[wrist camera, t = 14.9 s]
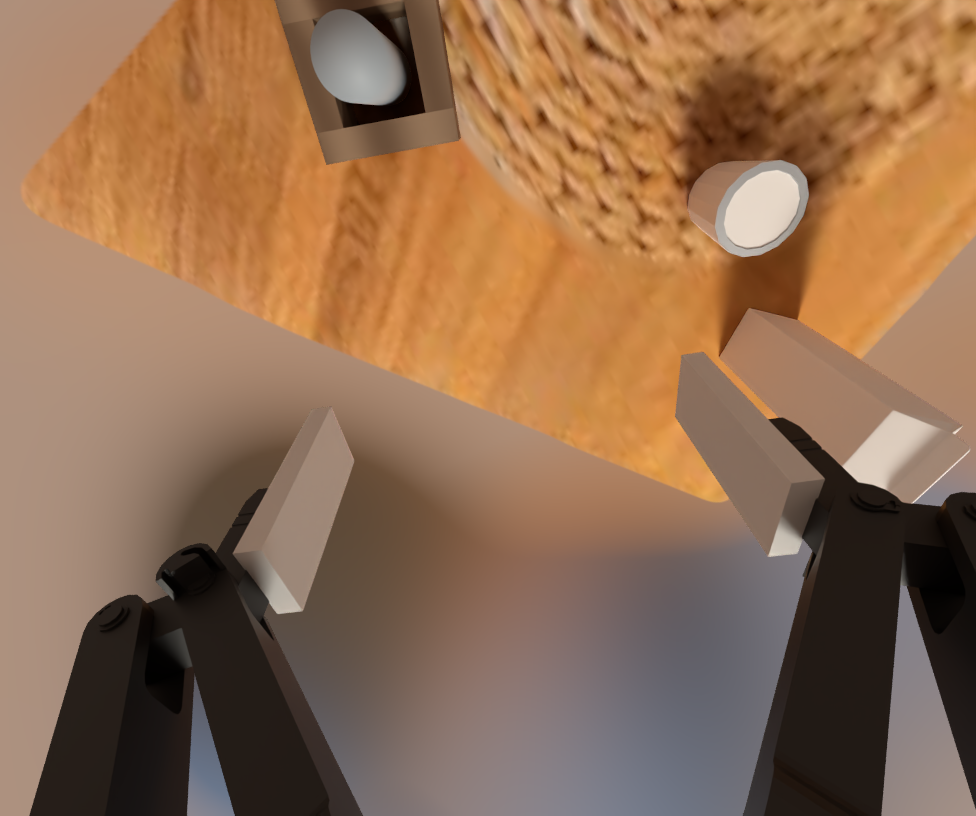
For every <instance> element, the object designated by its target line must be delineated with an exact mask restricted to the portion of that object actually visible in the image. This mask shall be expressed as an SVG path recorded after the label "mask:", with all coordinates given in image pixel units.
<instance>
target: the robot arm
mask: <svg viewBox="0 0 976 816" xmlns="http://www.w3.org/2000/svg"><path fill="white" fill-rule="evenodd" d="M675 417H676V419H677V420H678V422H679V423H680V425H681V426H682V428H683V429H684V431H685V432H686V434H687V435H688V437H689V438H690V440H691V441H692V443H693V444H694V446H695V447H696V449H697V450H698V452H699V453H700V455H701V456H702V458H703V459H704V461H705V462H706V464H707V465H708V467H709V468H710V470H711V471H712V473H713V474H714V476H715V477H716V479H717V480H718V482H719V483H720V485H721V486H722V488H723V489H724V491H725V492H726V494H727V495H728V497H729V499H730V500H731V501H732V503H733V505H734V506H735V508H736V509H737V511H738V512H739V513H740V515H741V517H742V518H743V520H744V521H745V523H746V524H747V526H748V527H749V529H750V530H751V532H752V533H753V535H754V536H755V538H756V539H757V541H758V542H759V544H760V545H761V547H762V548H763V550H764V551H765V553H766V554H767V556H768V557H770V556H779V555H787V554H797V553H798V550H799V548H800V545H801V542H802V539H804V541H805V542H806V543H807V544H808V546H809V547H810V548H811V549H812V553H811V556H810V559H809V561H808V563H807V566H806V568H805V571H804V573H803V576H804V577H805V578H804V582H803V586H802V590H801V593H800V597H799V601H798V605H797V609H796V613H795V617H794V621H793V625H792V628H791V632H790V636H789V640H788V644H787V648H786V652H785V656H784V659H783V663H782V667H781V671H780V675H779V679H778V683H777V687H776V690H775V694H774V698H773V702H772V706H771V710H770V714H769V718H768V722H767V726H766V729H765V733H764V737H763V741H762V745H761V749H760V753H759V757H758V761H757V764H756V768H755V772H754V776H753V780H752V784H751V787H750V791H749V796H748V799H747V803H746V807H745V810H744V813H743V816H881V812H882V800H883V788H884V775H885V764H886V750H887V739H888V728H889V714H890V703H891V691H892V679H893V667H894V654H895V643H896V631H897V619H898V618H897V617H898V607H899V595H900V585H904V586H907V589H908V592H909V595H910V598H911V601H912V605H913V608H914V611H915V614H916V618H917V621H918V624H919V627H920V630H921V634H922V637H923V640H924V643H925V646H926V650H927V653H928V656H929V660H930V663H931V666H932V669H933V673H934V676H935V679H936V682H937V686H938V689H939V692H940V695H941V698H942V702H943V705H944V708H945V711H946V714H947V718H948V721H949V724H950V727H951V731H952V734H953V737H954V741H955V743H956V747H957V750H958V753H959V757H960V760H961V763H962V766H963V770H964V773H965V776H966V779H967V782H968V786H969V789H970V792H971V795H972V799H973V802H974V805H975V808H976V493H967V492H960V493H955V494H951V495H950V496H949V497H948V498H947V499H946V500H945V501H944V503H943V505H942V506H941V507H940V506H931V505H922V504H912V503H904V502H901V501H900V500H899V498H898V497H897V496H895V495H893V494H892V493H890V492H889V491H887V490H885V489H883V488H880V487H877V486H875V485H871V484H866V483H860V482H858V481H856V480H855V479H854V478H853V477H852V476H851V475H850V474H849V473H848V472H847V471H846V470H845V469H844V468H843V467H842V466H841V465H840V464H839V463H838V462H837V461H836V460H835V459H834V458H833V457H831V456H830V455H829V454H828V453H827V452H826V451H825V450H822V447H821V446H820V445H819V444H818V443H817V442H816V441H815V440H812V437H811V436H810V435H809V434H808V433H807V432H805V431H804V430H803V429H802V428H801V427H800V426H798V425H796V424H795V423H793V422H791V421H789V420H787V419H785V418H783V417H782V418H775V419H767V418H766V417H765V416H764V415H763V414H762V413H761V412H760V411H759V410H758V409H757V408H756V406H755V405H754V404H753V403H752V402H751V401H750V400H749V399H748V398H747V397H746V396H745V395H744V394H743V393H742V392H741V391H740V390H739V389H738V388H737V387H736V386H735V385H734V384H733V383H732V381H731V380H730V379H729V378H728V377H727V376H726V375H725V374H724V373H723V372H722V371H721V370H720V369H719V368H718V367H717V366H716V365H715V364H714V363H713V362H712V361H711V360H710V359H709V358H708V356H707V355H706V354H705V353H704V352H699V353H692V354H686V355H682V356H681V366H680V375H679V385H678V395H677V404H676V414H675ZM353 463H354V459H353V457H352V454H351V452H350V449H349V447H348V445H347V442H346V440H345V438H344V435H343V433H342V431H341V428H340V426H339V424H338V421H337V419H336V416H335V414H334V412H333V409H332V407H331V406H329V407H323V408H317V409H312V410H311V412H310V413H309V415H308V417H307V419H306V421H305V422H304V424H303V426H302V428H301V430H300V431H299V433H298V435H297V437H296V439H295V441H294V442H293V444H292V447H291V448H290V450H289V452H288V453H287V455H286V457H285V459H284V461H283V463H282V464H281V466H280V468H279V470H278V472H277V474H276V475H275V477H274V479H273V481H272V483H271V485H270V487H269V488H265V489H259V490H257V491H256V492H255V493H254V494H253V495H252V496H251V497H250V498H249V499H248V500H247V501H246V502H245V504H244V506H243V507H242V509H241V511H240V512H239V514H238V515H239V516H238V517H237V518H236V519H235V521H234V523H233V524H232V528H230V529H229V531H228V533H227V535H226V536H225V538H224V540H223V541H222V543H221V545H220V547H219V548H218V550H217V552H216V553H215V552H214V551H213V550H212V549H211V548H210V547H209V546H208V545H207V544H202V543H199V544H194V545H190V546H187V547H185V548H183V549H181V550H179V551H178V552H176V553H175V554H173V555H172V556H171V557H169V558H168V559H167V560H166V561H165V562H164V563H163V564H162V565H161V567H160V569H159V571H158V572H157V574H156V582H157V583H158V585H159V586H160V587H161V588H162V589H163V590H164V591H165V592H166V593H167V594H168V596H165V597H163V598H160V599H158V600H155V601H152V602H150V603H146V602H145V601H144V600H143V599H142V598H141V597H139V596H138V595H127V596H124V597H121V598H118V599H116V600H114V601H113V602H111V603H109V604H107V605H106V606H105V607H103V608H102V609H101V610H100V611H98V612H97V613H96V614H95V615H94V617H93V618H92V619H91V620H90V621H89V622H88V624H87V626H86V628H85V630H84V632H83V635H82V639H81V642H80V645H79V649H78V652H77V655H76V659H75V662H74V666H73V669H72V673H71V676H70V679H69V683H68V686H67V690H66V693H65V696H64V700H63V703H62V707H61V710H60V714H59V717H58V720H57V724H56V727H55V730H54V734H53V737H52V741H51V744H50V748H49V751H48V754H47V758H46V761H45V764H44V768H43V771H42V775H41V778H40V782H39V785H38V788H37V792H36V795H35V798H34V802H33V805H32V809H31V812H30V816H187V803H188V802H187V801H188V782H189V766H190V765H189V764H190V746H191V728H192V709H193V692H194V673H195V677H196V680H197V684H198V687H199V691H200V694H201V698H202V701H203V705H204V708H205V712H206V716H207V719H208V723H209V726H210V730H211V733H212V736H213V740H214V744H215V747H216V751H217V754H218V758H219V761H220V765H221V768H222V772H223V775H224V779H225V782H226V786H227V789H228V793H229V796H230V800H231V803H232V807H233V811H234V814H235V816H363V815H362V813H361V811H360V808H359V807H358V804H357V802H356V800H355V798H354V796H353V794H352V792H351V790H350V788H349V786H348V784H347V782H346V780H345V778H344V776H343V774H342V772H341V770H340V767H339V765H338V763H337V761H336V759H335V757H334V755H333V753H332V751H331V749H330V747H329V745H328V743H327V741H326V739H325V737H324V735H323V733H322V731H321V729H320V727H319V725H318V722H317V720H316V718H315V716H314V714H313V712H312V710H311V708H310V706H309V704H308V702H307V701H306V698H305V696H304V694H303V692H302V690H301V688H300V686H299V684H298V682H297V680H296V678H295V676H294V673H293V672H292V669H291V667H290V665H289V663H288V661H287V659H286V657H285V655H284V653H283V651H282V649H281V647H280V645H279V643H278V641H277V639H276V637H275V634H274V632H273V630H272V628H271V626H270V624H269V622H268V621H267V619H266V618H265V617H264V613H265V610H266V608H267V605H268V603H270V605H271V606H272V607H273V609H274V610H275V611H276V612H277V614H281V613H290V612H299V611H303V609H304V606H305V603H306V600H307V597H308V594H309V591H310V588H311V585H312V583H313V580H314V577H315V574H316V571H317V568H318V565H319V562H320V559H321V556H322V553H323V551H324V548H325V545H326V541H327V539H328V536H329V533H330V530H331V527H332V524H333V521H334V519H335V516H336V513H337V510H338V507H339V504H340V501H341V498H342V495H343V492H344V489H345V487H346V484H347V481H348V478H349V475H350V472H351V469H352V466H353Z"/></svg>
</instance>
